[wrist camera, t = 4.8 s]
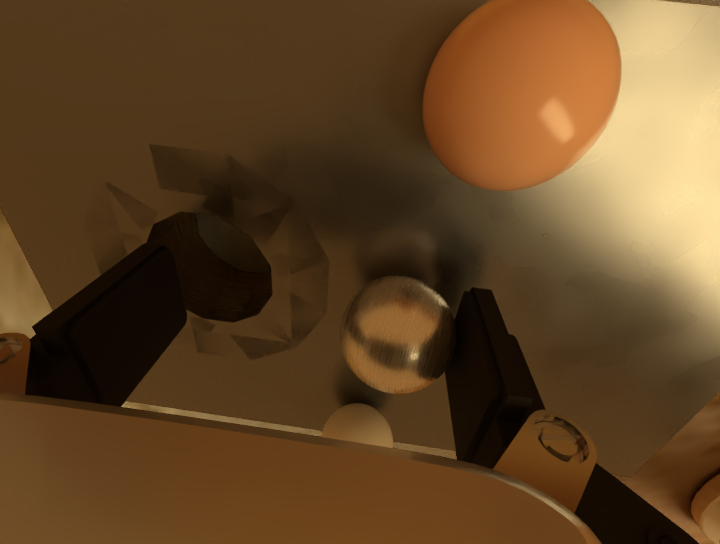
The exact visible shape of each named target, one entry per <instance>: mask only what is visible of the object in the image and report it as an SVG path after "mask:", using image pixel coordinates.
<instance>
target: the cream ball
mask: <svg viewBox="0 0 720 544" xmlns="http://www.w3.org/2000/svg"><path fill="white" fill-rule="evenodd" d="M321 437H325V438H332V439H338V440H345V441H351V442H357V443H364V444H370V445H377V446H383V447H389V448H393V436H392V432H391V429H390V426H389V424H388V422H387V420H386V419H385V418H384V416H383V415H382V414H381V413H380V412H379V411H378V410H376V409H375V408H373V407H371V406H369V405H366V404H361V403H353V404H348V405H345V406H343V407H341V408H339V409H338V410H336V411H335V412H334V413H333V414H332V415H331V416H330V417H329V418H328V420H327V422H326V423H325V425H324V428H323V430H322V434H321Z"/></svg>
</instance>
